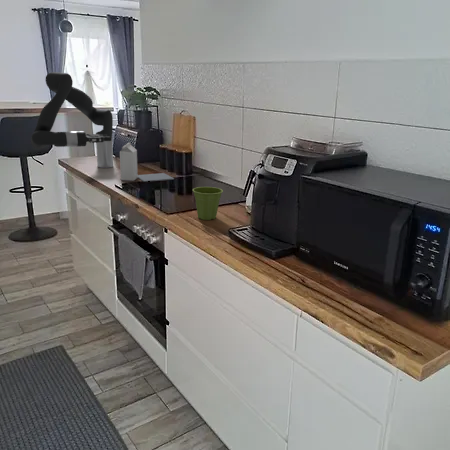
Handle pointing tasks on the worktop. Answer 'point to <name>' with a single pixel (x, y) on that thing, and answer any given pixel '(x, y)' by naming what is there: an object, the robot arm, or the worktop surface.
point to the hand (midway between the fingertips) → (109, 137)
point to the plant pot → (207, 201)
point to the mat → (154, 177)
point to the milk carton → (128, 163)
